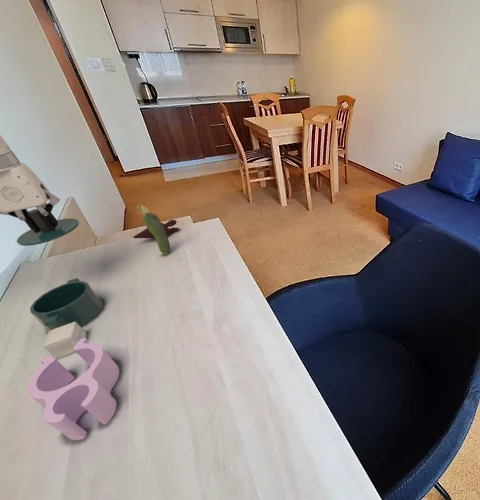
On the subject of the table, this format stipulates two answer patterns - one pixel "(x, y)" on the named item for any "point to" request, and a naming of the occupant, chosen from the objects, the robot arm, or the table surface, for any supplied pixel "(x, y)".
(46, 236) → the pot lid
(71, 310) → the pot
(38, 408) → the table surface
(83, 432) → the clip
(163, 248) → the vegetable
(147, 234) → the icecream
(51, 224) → the robot arm
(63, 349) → the small box
